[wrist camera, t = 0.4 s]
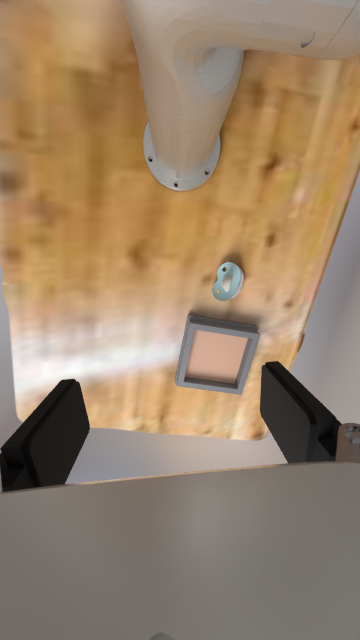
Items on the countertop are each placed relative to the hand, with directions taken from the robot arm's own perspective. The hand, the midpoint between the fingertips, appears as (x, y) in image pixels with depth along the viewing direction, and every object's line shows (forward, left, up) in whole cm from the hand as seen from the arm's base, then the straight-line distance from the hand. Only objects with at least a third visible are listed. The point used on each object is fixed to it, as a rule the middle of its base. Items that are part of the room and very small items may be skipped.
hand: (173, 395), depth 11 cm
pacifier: (-4, +11, -33) cm, 35 cm away
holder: (+12, +12, -33) cm, 37 cm away
